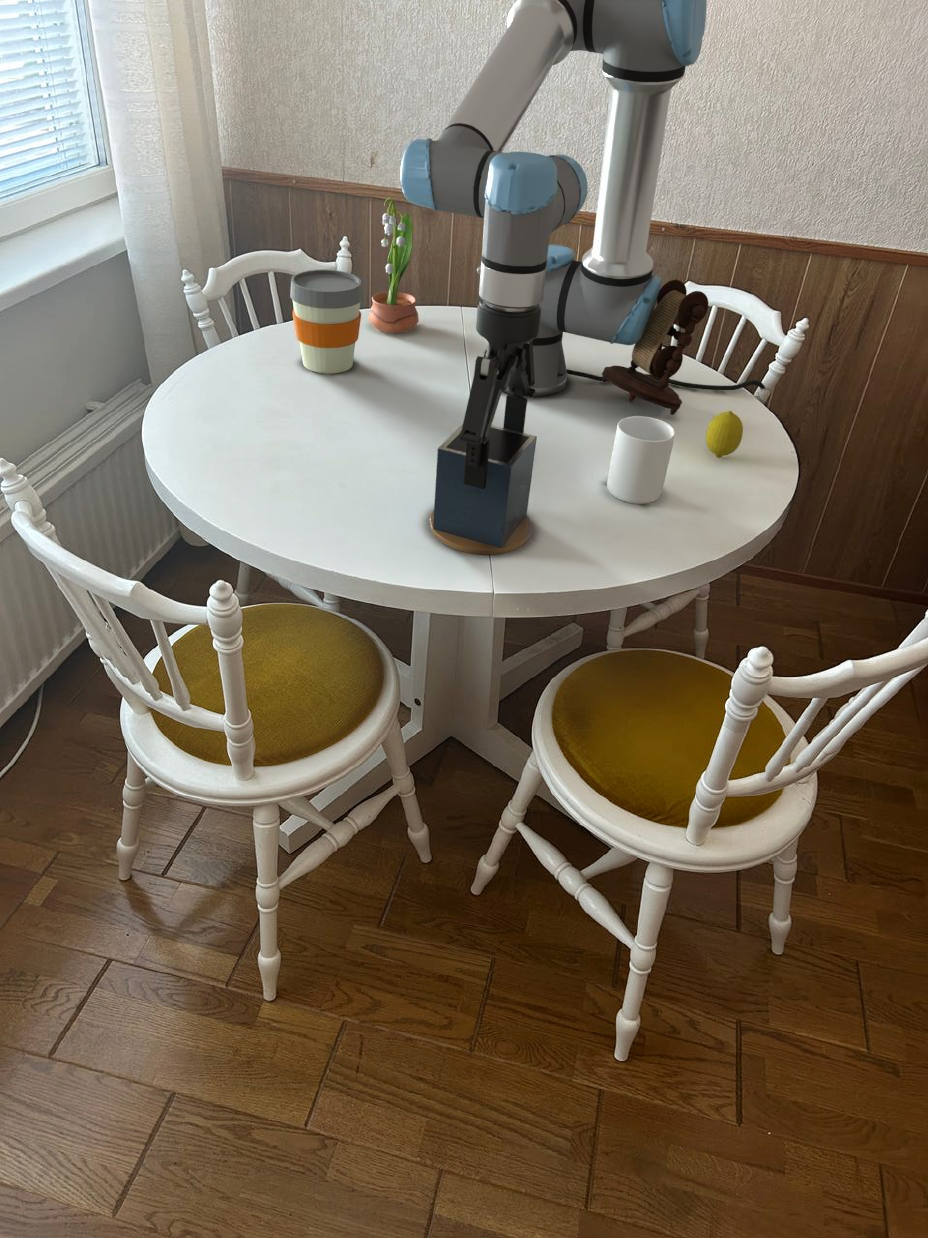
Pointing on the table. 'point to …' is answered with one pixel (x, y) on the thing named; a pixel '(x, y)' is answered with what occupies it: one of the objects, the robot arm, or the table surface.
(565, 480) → the table surface
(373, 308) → the potted flower
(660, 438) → the mug
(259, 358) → the table surface
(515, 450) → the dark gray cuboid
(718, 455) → the lemon
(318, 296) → the reusable coffee cup
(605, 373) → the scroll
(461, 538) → the cork trivet
